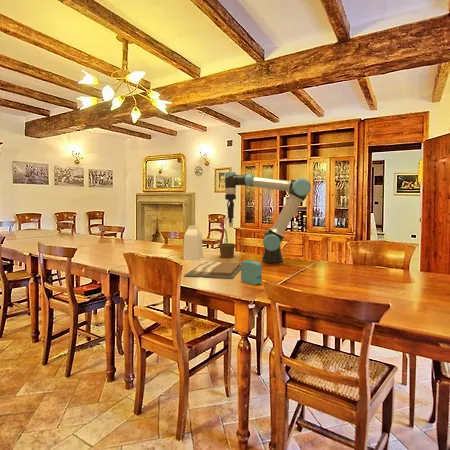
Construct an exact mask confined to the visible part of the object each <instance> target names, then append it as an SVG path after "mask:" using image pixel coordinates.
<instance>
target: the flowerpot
mask: <svg viewBox="0 0 450 450" xmlns="http://www.w3.org/2000/svg"><path fill="white" fill-rule="evenodd" d="M224 225H225V222H224V221H223V220H222V219H220V224H219V228H220V230H219V232H220V234H221V235H222V236H224V233H225V241H226V242H224V243H218V245H217V246H218V249H219V253H220V258H221V259H233V258H234V255H235V248H236V247H237V244H236V243H233V242H231V243H228V233H227V230H226V228H225V227H224Z"/></svg>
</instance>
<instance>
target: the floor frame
mask: <svg viewBox="0 0 450 450" xmlns="http://www.w3.org/2000/svg"><path fill="white" fill-rule="evenodd" d="M202 264H203V263H200V264H199V265H197V266H196V267H195V268H193V269H192V270H190V271H188V272H186V274H184V278H199V277H203V279H224V280H225V279H226V280H233V279H234V278H235V277H236V275H237V274H239V272H241V263H240V262H223V263H222V264H220V265H219V266H218V267H217V268H216V269H214V270H213V271H212V272H211V275H194V274H192V271H193V270H194V269H196V268H197V267H199V266H200V265H202Z"/></svg>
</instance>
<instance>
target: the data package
mask: <svg viewBox="0 0 450 450" xmlns="http://www.w3.org/2000/svg"><path fill="white" fill-rule="evenodd" d="M240 265H241V270H240V281H241V282H242V283H245V284H249V285H253V286H257V285H260V284H262V281H263V278H262V276H263V273H262V272H263V267H262V266H263V265H262V263H261V262H259V261H255V260H250V259H249V260H242V261H241V263H240Z"/></svg>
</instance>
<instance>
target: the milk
mask: <svg viewBox="0 0 450 450" xmlns="http://www.w3.org/2000/svg"><path fill="white" fill-rule="evenodd" d="M203 250H204V249H203V236H202V233H201V232H200V230H199V228H198V225H188V228H187V230H186V231H185V233H184V236H183V260H184V261H199V260H201V259H203V258H204V251H203Z"/></svg>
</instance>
